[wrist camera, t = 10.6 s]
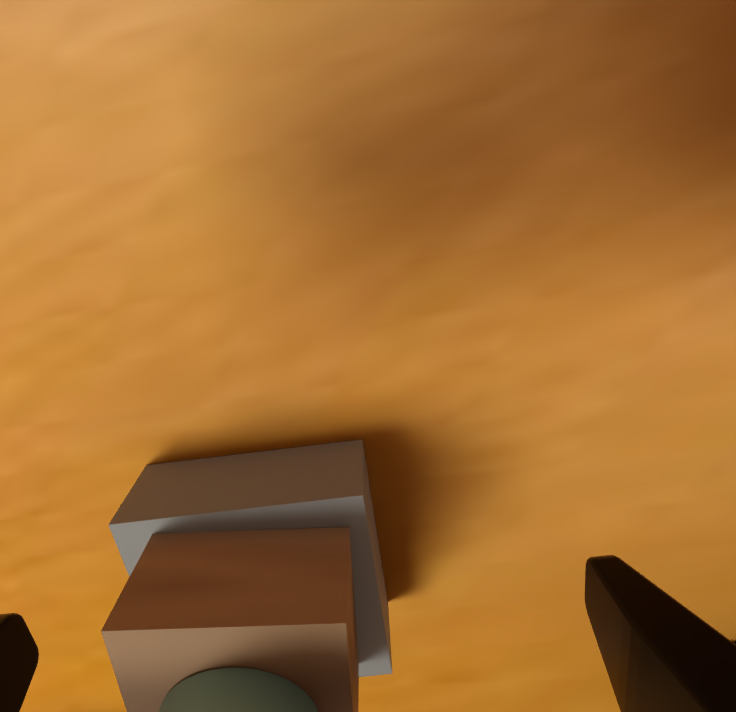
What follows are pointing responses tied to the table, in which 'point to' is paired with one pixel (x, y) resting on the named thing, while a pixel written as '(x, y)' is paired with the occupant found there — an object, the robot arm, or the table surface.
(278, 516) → the slate base
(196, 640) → the walnut block
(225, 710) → the teal cylinder
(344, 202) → the table surface
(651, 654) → the robot arm
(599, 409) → the table surface
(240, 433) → the table surface
